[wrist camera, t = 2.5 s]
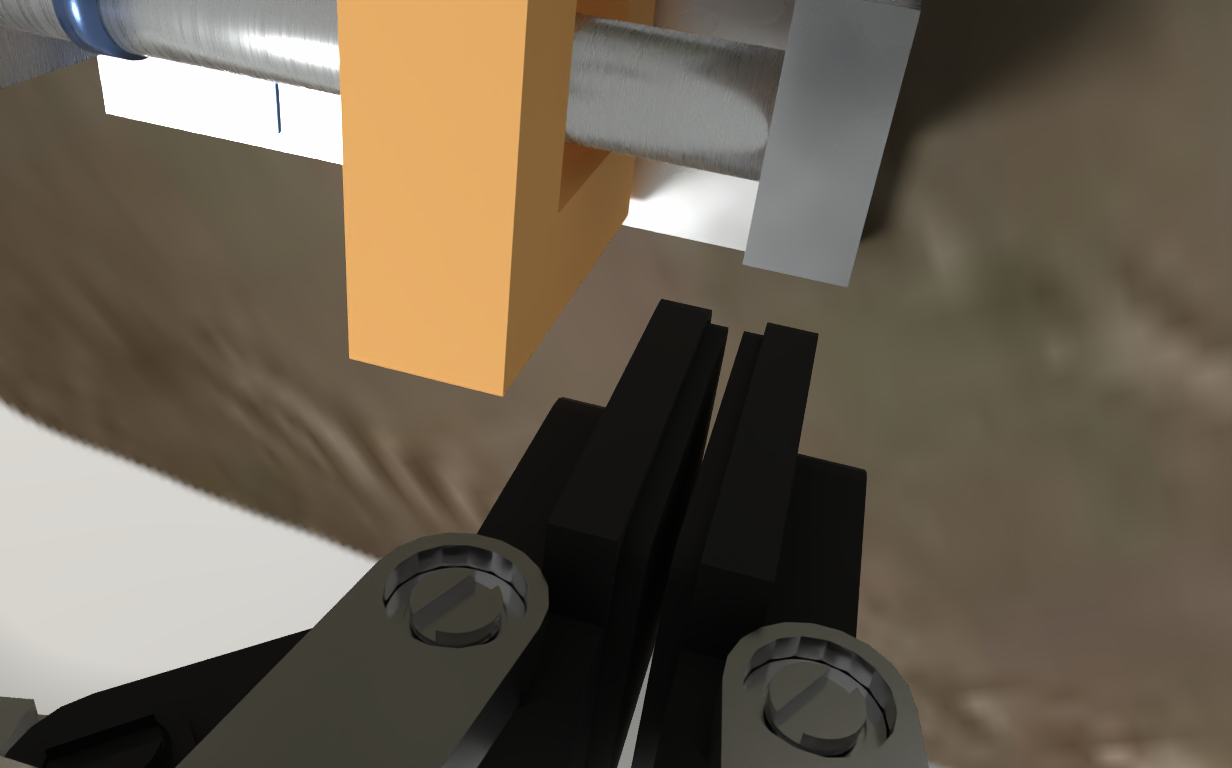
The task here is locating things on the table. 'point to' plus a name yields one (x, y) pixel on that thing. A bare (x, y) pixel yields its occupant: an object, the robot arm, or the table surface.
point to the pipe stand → (597, 102)
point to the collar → (468, 181)
